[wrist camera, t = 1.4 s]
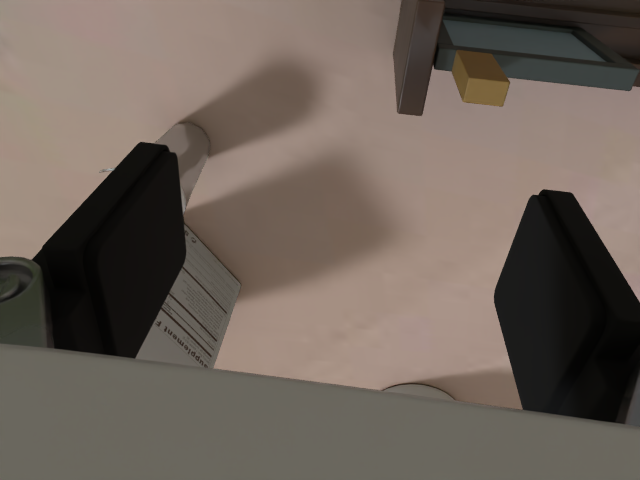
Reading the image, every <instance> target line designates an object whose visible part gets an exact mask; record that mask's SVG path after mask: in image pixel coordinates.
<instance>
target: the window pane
mask: <svg viewBox="0 0 640 480" xmlns="http://www.w3.org/2000/svg"><path fill="white" fill-rule="evenodd" d="M433 65H434V69H436V70H445V71H452V74H453V76H454V79H455V82H456V84H457V87H458V90H459V93H460V95H461V98H462V101H463V102H466V103H475V104H484V105H493V106H503V104H504V101H505V98H506V94H507V91H508V88H509V85H510V81H509V80H508V78H516V79H525V80H534V81H543V82H552V83H561V84H570V85H579V86H588V87H597V88H606V89H615V90H624V91H630V90H631V89H632V86H633V84H634V82H635V80H636V78H637V75H638V73H639V69H638V68H636V67H635V66H633V65H632V64H631V63H630V62H628V61H627V60H625V59H624V58H623V57H621V56H620V55H619V54H617V53H616V52H614V51H613V50H612V49H610V48H609V47H608V46H606V45H605V44H603V43H602V42H601V41H599V40H598V39H597V38H595V37H594V36H592V35H591V34H590V33H588V32H587V31H586V30H584V29H583V28H579V27H570V26H560V25H551V24H542V23H533V22H523V21H514V20H505V19H495V18H486V17H477V16H468V15H458V14H449V13H444V14H443V18H442V23H441V28H440V33H439V38H438V42H437V47H436V52H435V57H434V62H433Z"/></svg>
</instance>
